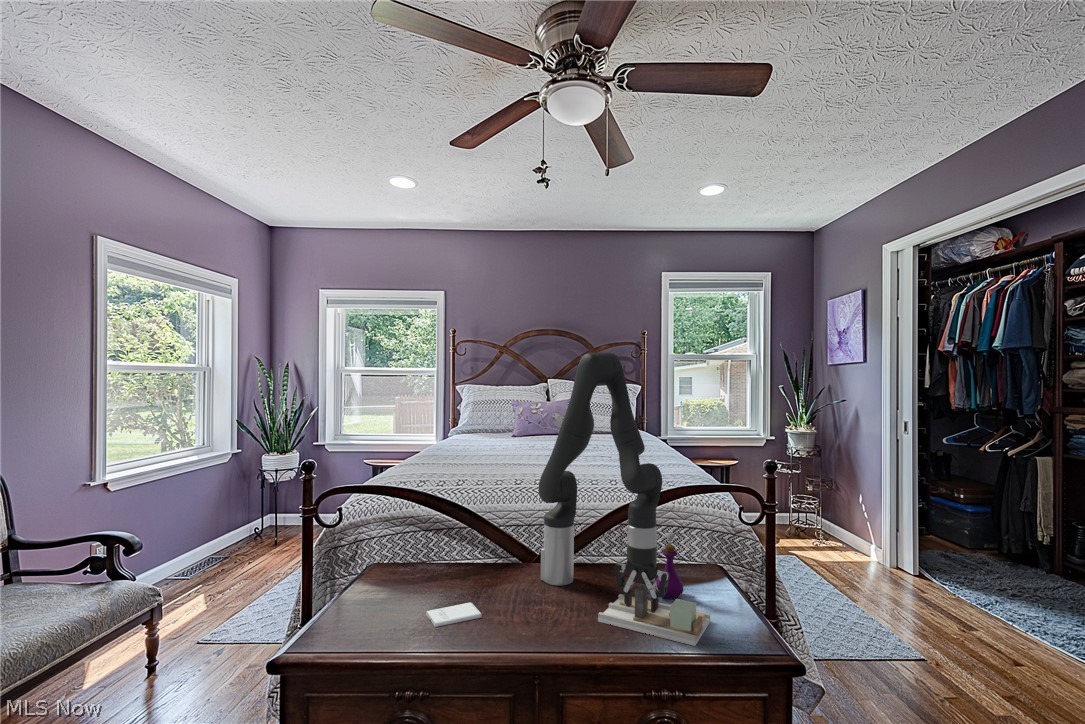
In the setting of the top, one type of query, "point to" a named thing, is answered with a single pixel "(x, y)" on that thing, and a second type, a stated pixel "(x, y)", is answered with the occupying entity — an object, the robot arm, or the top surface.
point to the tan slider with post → (656, 619)
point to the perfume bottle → (671, 572)
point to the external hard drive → (453, 614)
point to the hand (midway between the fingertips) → (641, 608)
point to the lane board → (624, 616)
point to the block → (682, 614)
